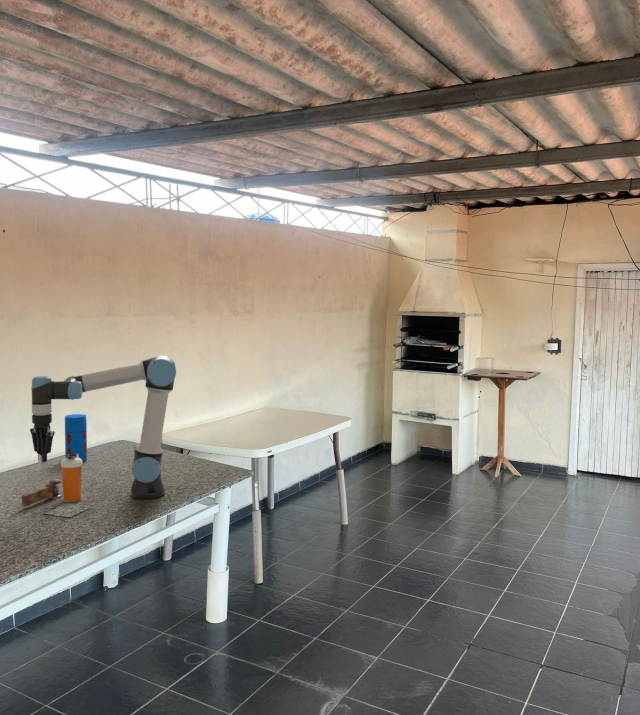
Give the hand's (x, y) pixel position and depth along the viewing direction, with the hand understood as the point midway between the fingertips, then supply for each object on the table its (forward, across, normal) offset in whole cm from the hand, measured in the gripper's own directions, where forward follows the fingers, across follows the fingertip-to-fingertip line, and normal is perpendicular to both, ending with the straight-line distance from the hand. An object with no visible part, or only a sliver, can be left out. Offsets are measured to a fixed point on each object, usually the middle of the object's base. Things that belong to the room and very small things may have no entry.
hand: (42, 469), depth 266 cm
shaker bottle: (+17, 0, -14) cm, 23 cm away
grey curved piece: (+17, +10, -13) cm, 24 cm away
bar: (+16, +8, -6) cm, 19 cm away
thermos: (+17, +51, -59) cm, 80 cm away
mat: (+17, -11, -4) cm, 21 cm away
